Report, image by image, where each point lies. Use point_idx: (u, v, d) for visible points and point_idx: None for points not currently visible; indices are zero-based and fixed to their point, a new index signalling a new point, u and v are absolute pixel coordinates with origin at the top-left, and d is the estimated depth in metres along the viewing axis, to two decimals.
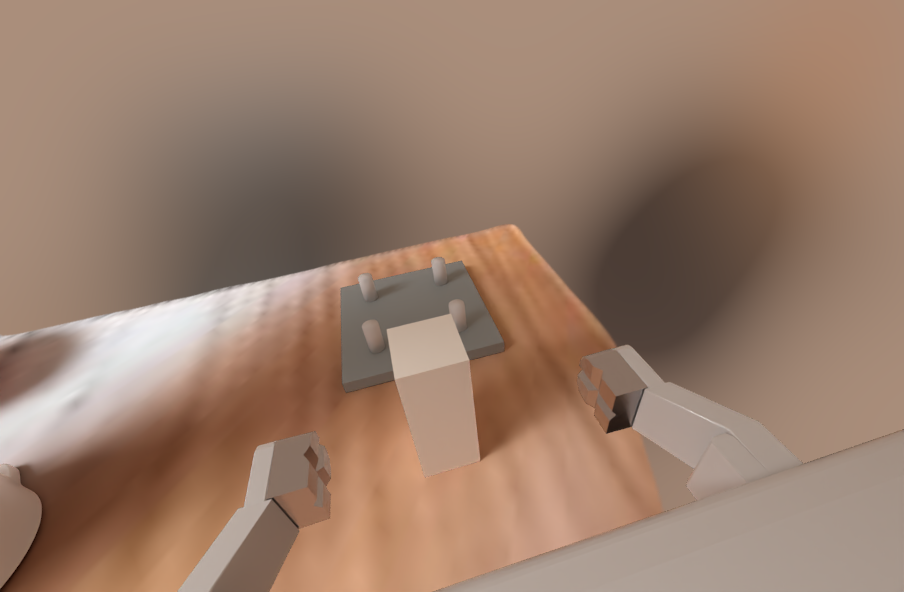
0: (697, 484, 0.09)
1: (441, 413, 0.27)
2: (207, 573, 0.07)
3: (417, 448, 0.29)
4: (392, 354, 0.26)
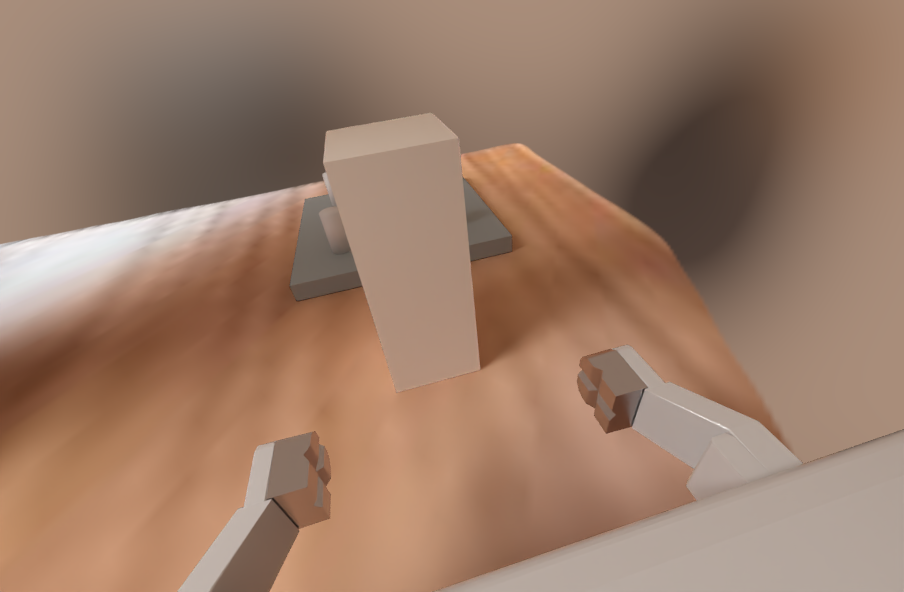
0: (697, 484, 0.09)
1: (414, 261, 0.16)
2: (207, 573, 0.07)
3: (380, 333, 0.18)
4: (328, 145, 0.15)
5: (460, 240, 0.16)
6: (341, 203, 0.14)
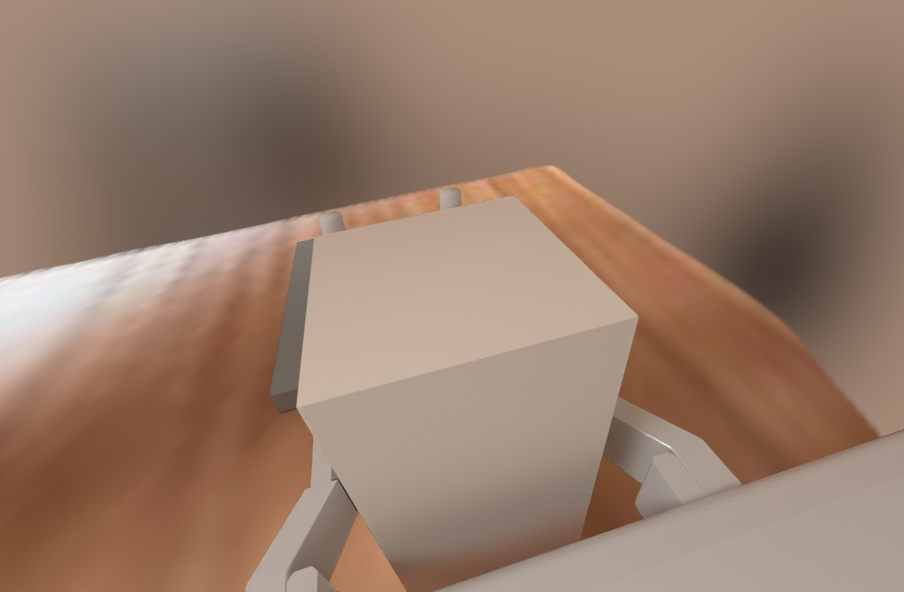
0: (643, 502, 0.09)
1: (491, 509, 0.08)
2: (285, 549, 0.08)
3: None
4: (314, 303, 0.07)
5: (585, 468, 0.08)
6: (344, 464, 0.06)
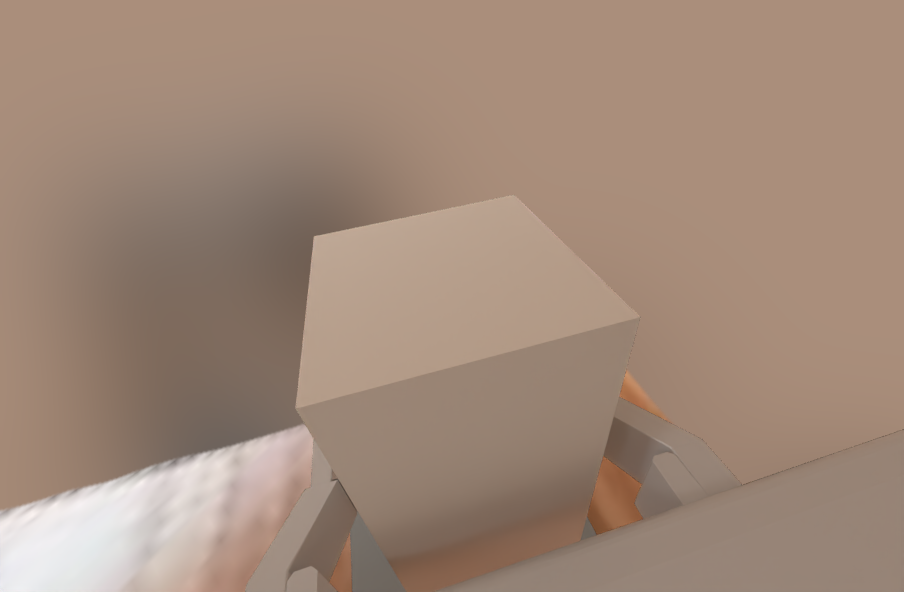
0: (643, 502, 0.09)
1: (492, 510, 0.08)
2: (285, 549, 0.08)
3: None
4: (313, 304, 0.07)
5: (585, 469, 0.08)
6: (344, 465, 0.06)
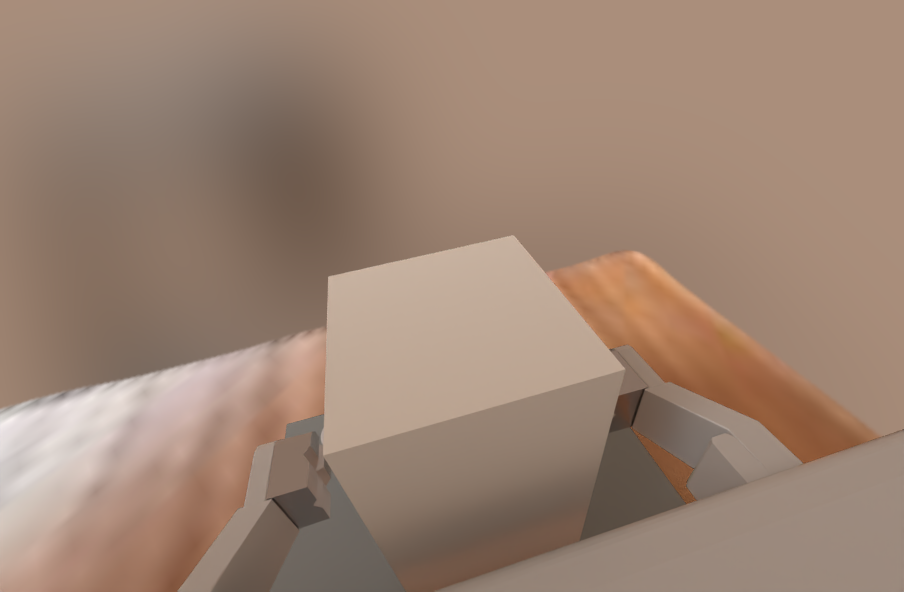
0: (697, 484, 0.09)
1: (493, 531, 0.09)
2: (207, 573, 0.07)
3: None
4: (332, 349, 0.07)
5: (579, 493, 0.09)
6: (362, 499, 0.07)
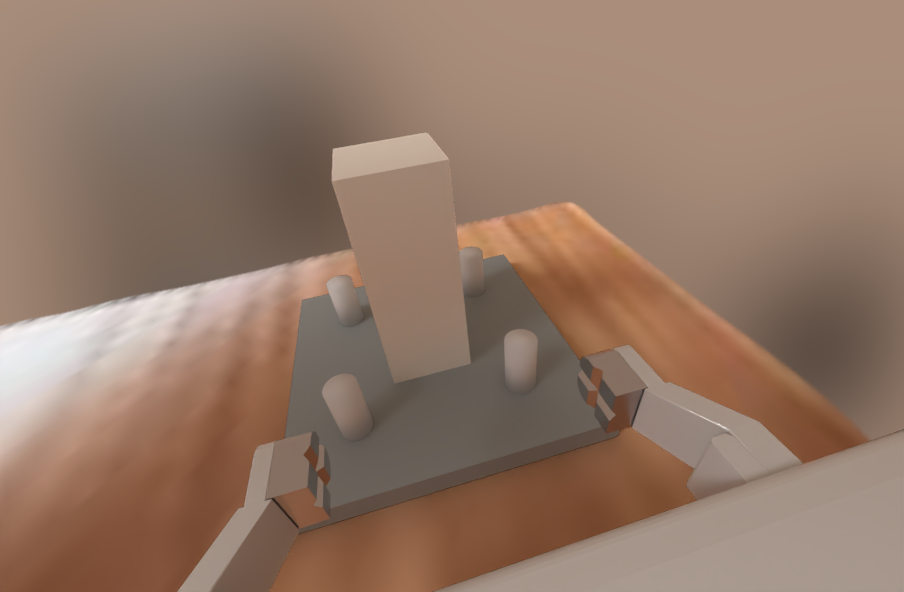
0: (697, 484, 0.09)
1: (410, 265, 0.19)
2: (207, 573, 0.07)
3: (379, 329, 0.20)
4: (335, 164, 0.17)
5: (451, 247, 0.18)
6: (346, 215, 0.16)
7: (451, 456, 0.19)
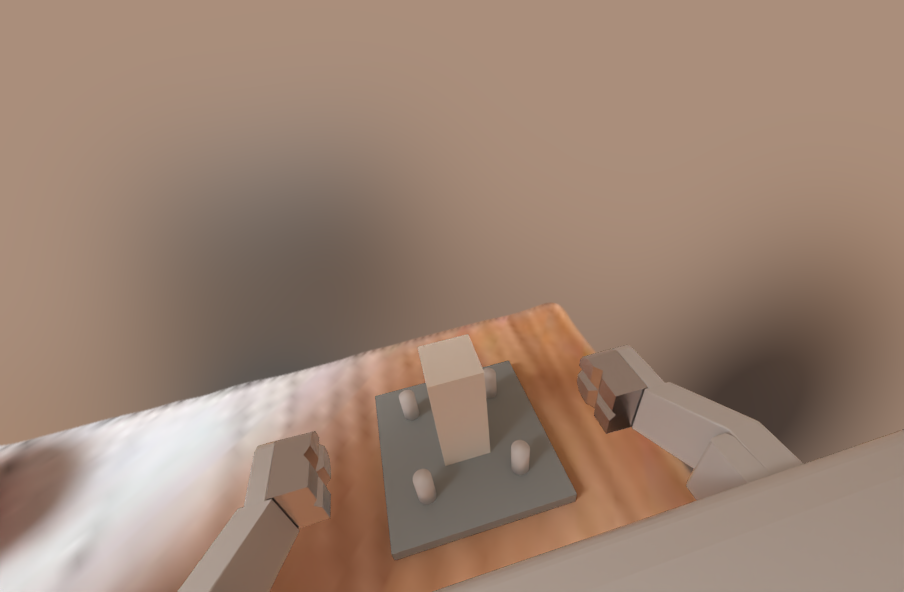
0: (697, 484, 0.09)
1: (461, 413, 0.34)
2: (207, 573, 0.07)
3: (441, 441, 0.36)
4: (424, 367, 0.33)
5: (482, 403, 0.34)
6: (432, 398, 0.32)
7: (482, 515, 0.35)
